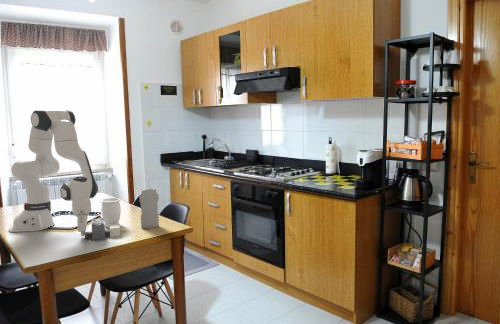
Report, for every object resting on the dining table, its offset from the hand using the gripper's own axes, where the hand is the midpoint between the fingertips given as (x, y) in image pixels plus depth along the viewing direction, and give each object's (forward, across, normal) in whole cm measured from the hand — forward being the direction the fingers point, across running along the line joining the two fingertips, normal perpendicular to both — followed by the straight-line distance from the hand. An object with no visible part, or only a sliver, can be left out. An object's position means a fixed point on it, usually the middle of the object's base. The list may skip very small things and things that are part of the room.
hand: (83, 235), depth 199 cm
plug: (+2, 0, -10) cm, 11 cm away
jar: (+2, +20, -14) cm, 25 cm away
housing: (+2, 0, -7) cm, 7 cm away
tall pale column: (+2, +8, -34) cm, 35 cm away
